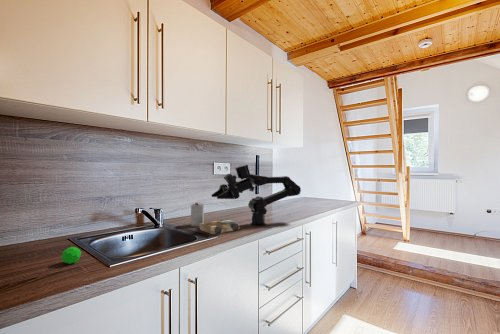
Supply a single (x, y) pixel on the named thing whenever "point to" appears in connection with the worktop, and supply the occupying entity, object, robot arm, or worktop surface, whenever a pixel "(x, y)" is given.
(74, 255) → the polyhedron
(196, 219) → the grey rectangular block
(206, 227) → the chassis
